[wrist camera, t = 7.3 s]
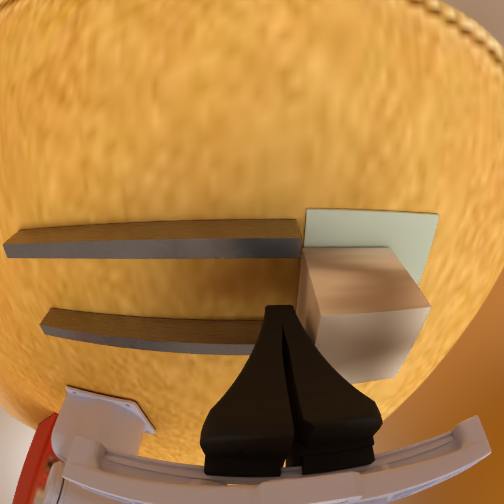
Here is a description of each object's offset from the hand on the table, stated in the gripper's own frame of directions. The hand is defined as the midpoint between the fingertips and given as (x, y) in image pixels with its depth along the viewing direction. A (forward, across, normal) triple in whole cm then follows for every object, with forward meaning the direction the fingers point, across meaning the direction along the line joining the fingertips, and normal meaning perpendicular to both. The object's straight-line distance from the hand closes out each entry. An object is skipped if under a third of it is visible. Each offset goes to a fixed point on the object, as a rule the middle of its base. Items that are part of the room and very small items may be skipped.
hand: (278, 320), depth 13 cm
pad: (+3, -5, 0) cm, 6 cm away
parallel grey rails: (+3, +8, 0) cm, 9 cm away
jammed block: (+3, -4, 0) cm, 5 cm away
